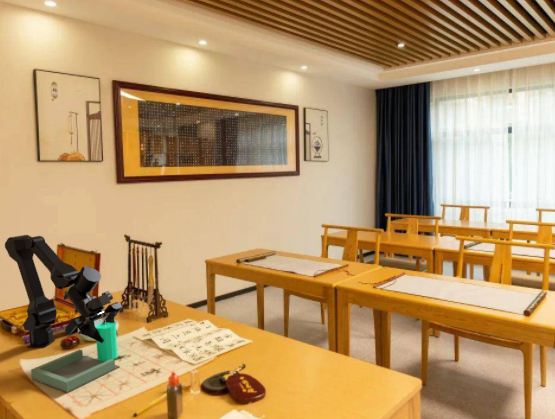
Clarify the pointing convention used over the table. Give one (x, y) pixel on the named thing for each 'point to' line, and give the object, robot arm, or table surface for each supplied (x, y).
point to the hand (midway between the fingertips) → (109, 338)
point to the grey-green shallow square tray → (72, 371)
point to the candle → (107, 342)
